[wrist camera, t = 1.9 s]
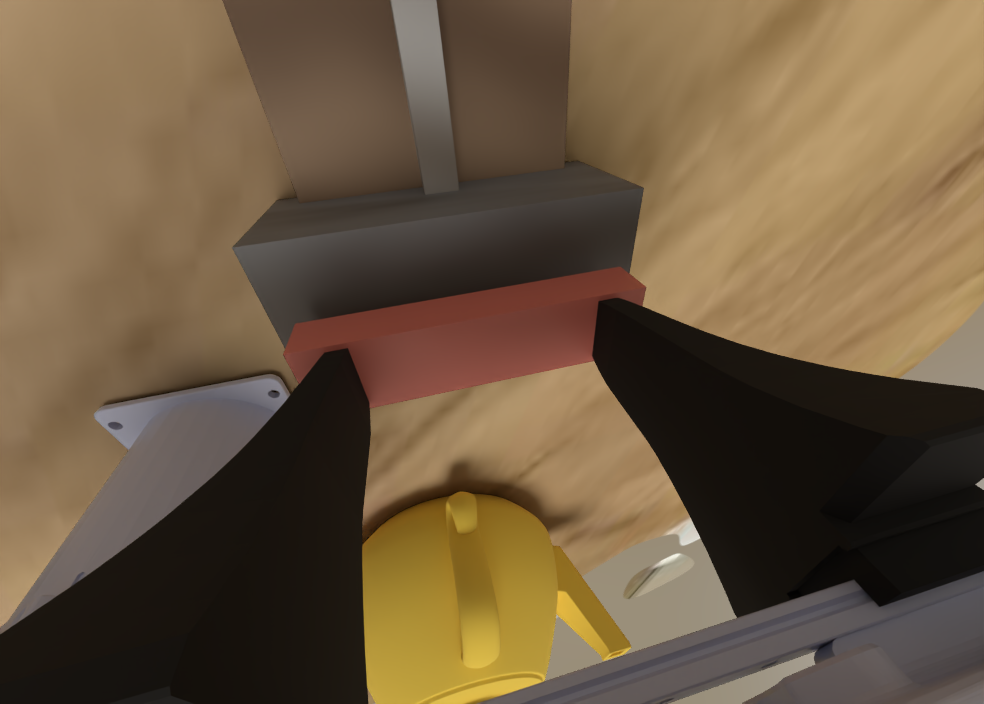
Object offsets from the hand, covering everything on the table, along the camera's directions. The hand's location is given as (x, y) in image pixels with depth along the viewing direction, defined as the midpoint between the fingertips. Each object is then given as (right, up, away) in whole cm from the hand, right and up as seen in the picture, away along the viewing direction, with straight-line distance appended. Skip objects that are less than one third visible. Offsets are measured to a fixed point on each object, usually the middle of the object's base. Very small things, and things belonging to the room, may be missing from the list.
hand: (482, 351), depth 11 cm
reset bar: (0, +1, +1) cm, 1 cm away
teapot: (-2, -15, +21) cm, 26 cm away
